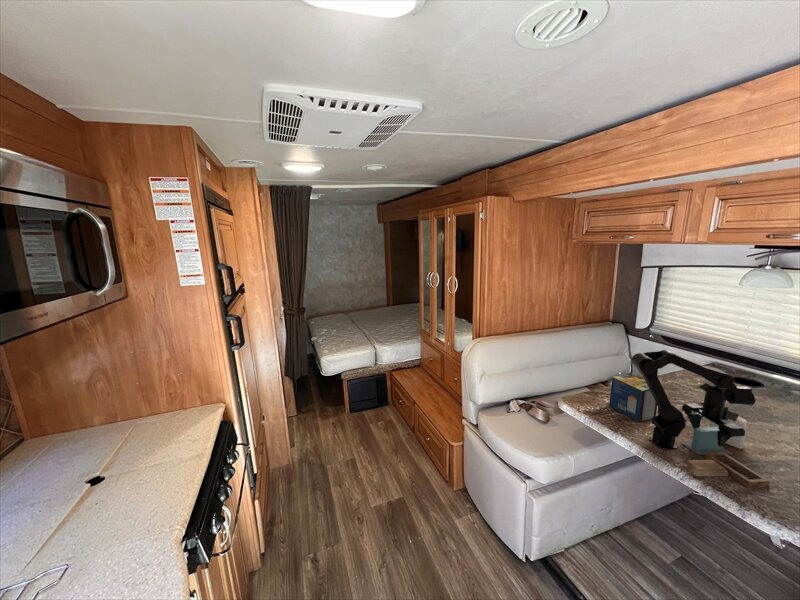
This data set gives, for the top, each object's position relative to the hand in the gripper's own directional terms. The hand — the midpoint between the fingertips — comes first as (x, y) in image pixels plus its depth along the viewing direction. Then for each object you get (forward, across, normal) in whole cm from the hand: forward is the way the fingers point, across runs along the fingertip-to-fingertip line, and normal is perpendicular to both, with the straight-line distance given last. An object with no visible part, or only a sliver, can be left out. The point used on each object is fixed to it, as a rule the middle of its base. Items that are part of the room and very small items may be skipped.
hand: (707, 438), depth 120 cm
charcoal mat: (+4, 0, 0) cm, 4 cm away
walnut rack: (+4, -12, +2) cm, 13 cm away
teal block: (+4, 0, 0) cm, 4 cm away
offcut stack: (+5, -11, +12) cm, 17 cm away
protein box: (+5, +28, +8) cm, 30 cm away
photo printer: (+5, +4, -12) cm, 13 cm away
